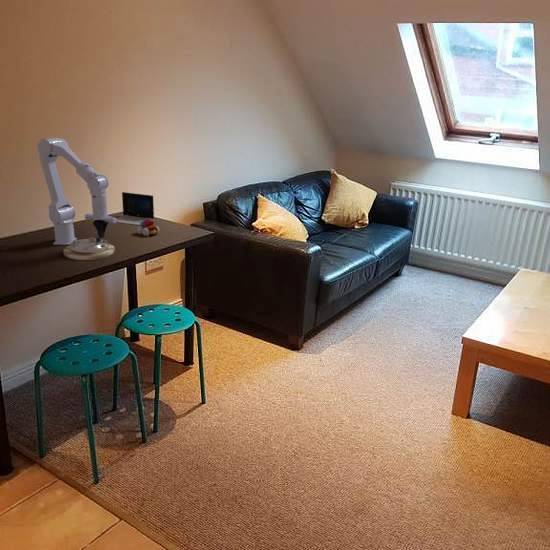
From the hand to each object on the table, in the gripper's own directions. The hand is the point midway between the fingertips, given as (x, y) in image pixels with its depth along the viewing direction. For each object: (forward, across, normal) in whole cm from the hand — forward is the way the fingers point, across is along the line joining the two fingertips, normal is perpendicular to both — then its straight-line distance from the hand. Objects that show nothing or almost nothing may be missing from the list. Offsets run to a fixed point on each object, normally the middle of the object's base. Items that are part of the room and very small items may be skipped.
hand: (101, 237), depth 228 cm
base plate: (+5, -2, -6) cm, 8 cm away
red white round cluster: (+6, +3, +29) cm, 30 cm away
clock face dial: (+3, -2, -6) cm, 7 cm away
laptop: (+6, -18, +45) cm, 48 cm away
